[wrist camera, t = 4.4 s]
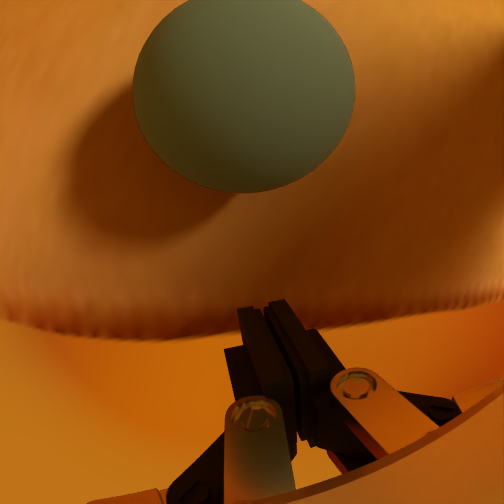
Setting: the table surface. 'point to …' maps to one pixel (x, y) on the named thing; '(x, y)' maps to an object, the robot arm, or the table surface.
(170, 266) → the table surface
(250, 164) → the ball
